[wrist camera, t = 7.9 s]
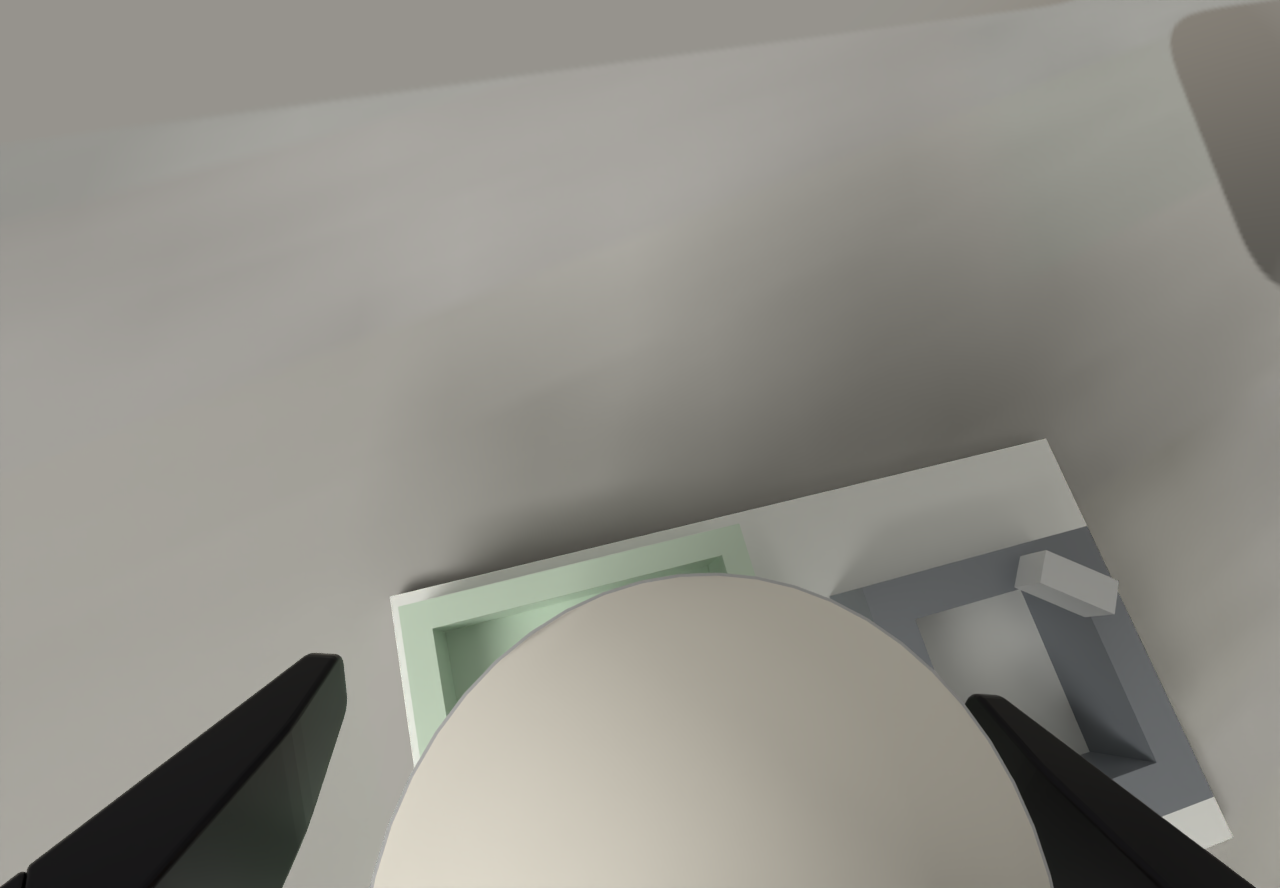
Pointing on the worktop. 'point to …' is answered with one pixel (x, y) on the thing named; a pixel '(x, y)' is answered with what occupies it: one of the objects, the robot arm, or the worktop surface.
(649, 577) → the tray
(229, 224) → the worktop surface
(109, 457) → the worktop surface
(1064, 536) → the block
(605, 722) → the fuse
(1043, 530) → the panel plate
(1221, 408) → the worktop surface
